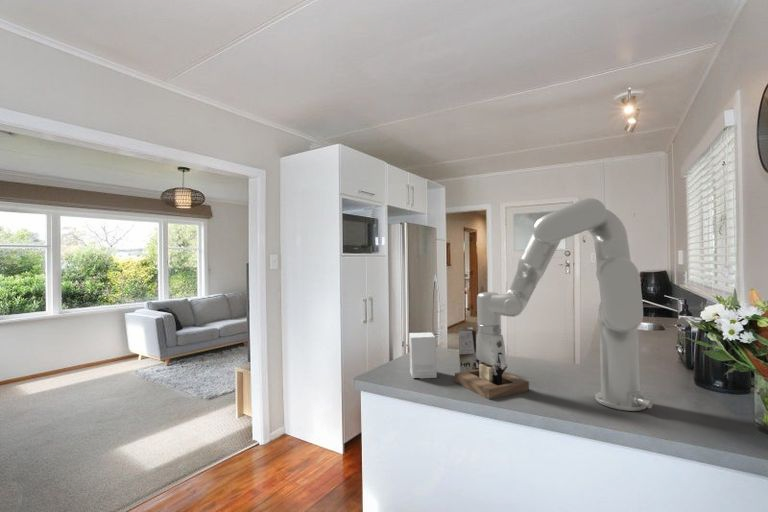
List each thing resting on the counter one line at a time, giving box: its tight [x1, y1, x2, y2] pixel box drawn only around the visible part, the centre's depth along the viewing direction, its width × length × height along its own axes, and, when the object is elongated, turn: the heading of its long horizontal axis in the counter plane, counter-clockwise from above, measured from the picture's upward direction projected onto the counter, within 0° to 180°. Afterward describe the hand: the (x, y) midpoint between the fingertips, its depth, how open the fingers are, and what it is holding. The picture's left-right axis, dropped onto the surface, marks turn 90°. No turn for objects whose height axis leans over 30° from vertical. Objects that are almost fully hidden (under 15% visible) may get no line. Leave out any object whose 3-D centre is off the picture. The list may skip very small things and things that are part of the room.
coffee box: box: [458, 326, 477, 372], centre depth 143 cm, size 9×6×16 cm
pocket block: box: [454, 368, 530, 400], centre depth 125 cm, size 18×16×3 cm
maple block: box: [478, 364, 498, 383], centre depth 125 cm, size 5×5×7 cm
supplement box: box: [408, 332, 437, 380], centre depth 139 cm, size 9×9×15 cm
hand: (490, 382), depth 125 cm, fingers open, 6 cm apart
